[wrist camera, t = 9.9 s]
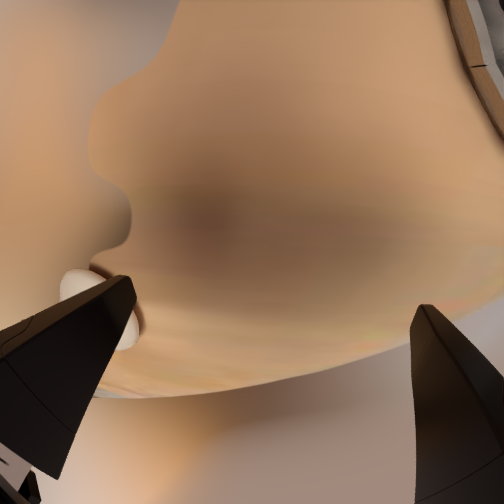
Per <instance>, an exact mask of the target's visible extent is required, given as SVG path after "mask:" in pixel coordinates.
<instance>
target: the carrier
mask: <svg viewBox="0 0 504 504" xmlns="http://www.w3.org/2000/svg"><path fill="white" fill-rule="evenodd" d="M445 1H446V7H447V13H448V17H449V20H450V24H451V29H452V32H453V35H454V38H455V41H456V44H457V47H458V50H459V53H460V55H461V58H462V60H463V63H464V66H465V68H466V71H467V73H468V75H469V77H470V80H471V82H472V84H473V87H474V89H475V91H476V93H477V95H478V97H479V99H480V101H481V103H482V105H483V107H484V108H485V110H486V112H487V114H488V116H489V117H490V119H491V121H492V123H493V124H494V126H495V127H496V129H497V130H498V132H499V134H500V135H501V137H502V138H503V139H504V0H445Z"/></svg>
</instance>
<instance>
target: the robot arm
mask: <svg viewBox="0 0 504 504" xmlns="http://www.w3.org/2000/svg"><path fill="white" fill-rule="evenodd" d="M136 300H137V296H136V292H135V289H134V286H133V283H132V280H131V278H130V277H129V276H125V275H117V276H115V277H112V278H110V279H108V280H106V281H104V282H102V283H99V284H97V285H95V286H93V287H91V288H89V289H87V290H84V291H82V292H80V293H78V294H76V295H74V296H72V297H70V298H68V299H66V300H63V301H61V302H59V303H57V304H55V305H53V306H51V307H49V308H47V309H45V310H43V311H41V312H39V313H37V314H35V316H34V315H33V316H31V317H29V318H27V319H25V320H23V321H21V322H19V323H17V324H15V325H13V326H10V327H8V328H6V329H4V330H1V331H0V504H40V502H41V497H40V493H39V489H38V485H37V480H36V475H35V473H34V472H33V471H32V470H31V467H32V465H33V466H34V467H36V468H37V469H39V470H40V471H42V472H44V473H45V474H47V475H49V476H51V477H53V478H54V479H56V480H58V479H59V477H60V474H61V472H62V469H63V466H64V463H65V461H66V458H67V456H68V453H69V450H70V448H71V445H72V443H73V440H74V438H75V434H76V433H77V430H78V428H79V426H80V423H81V421H82V418H83V416H84V414H85V412H86V410H87V407H88V405H89V403H90V401H91V399H92V396H93V394H94V392H95V390H96V388H97V386H98V384H99V381H100V379H101V377H102V375H103V373H104V371H105V369H106V367H107V365H108V363H109V361H110V359H111V357H112V355H113V353H114V351H115V349H116V347H117V345H118V343H119V341H120V339H121V337H122V335H123V333H124V330H125V328H126V325H127V323H128V320H129V318H130V315H131V313H132V311H133V308H134V306H135V304H136ZM410 345H411V377H412V389H413V398H414V411H415V425H416V426H415V427H416V488H415V503H414V504H504V377H503V376H502V375H501V374H500V373H499V372H498V370H497V369H496V368H495V367H494V366H493V365H492V364H491V363H490V362H489V361H488V360H487V359H486V358H485V356H484V355H483V354H482V353H481V352H480V351H479V350H478V349H477V348H476V347H475V346H474V345H473V344H472V343H471V342H470V341H469V340H468V339H467V338H466V337H465V336H464V335H463V334H462V333H461V332H460V331H459V330H458V329H457V328H456V327H455V326H454V325H453V324H452V323H451V322H450V321H449V320H448V319H447V318H446V317H445V316H444V315H443V314H442V313H441V312H440V311H439V310H437V309H436V308H435V307H434V306H433V305H430V304H421V305H419V306H418V308H417V311H416V313H415V316H414V318H413V321H412V323H411V326H410Z"/></svg>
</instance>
